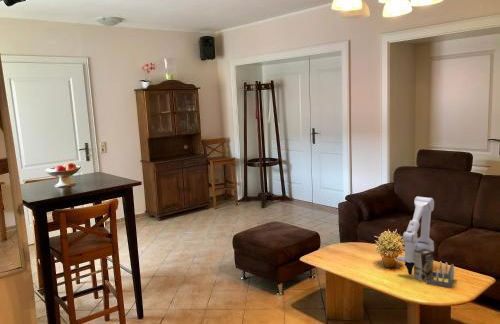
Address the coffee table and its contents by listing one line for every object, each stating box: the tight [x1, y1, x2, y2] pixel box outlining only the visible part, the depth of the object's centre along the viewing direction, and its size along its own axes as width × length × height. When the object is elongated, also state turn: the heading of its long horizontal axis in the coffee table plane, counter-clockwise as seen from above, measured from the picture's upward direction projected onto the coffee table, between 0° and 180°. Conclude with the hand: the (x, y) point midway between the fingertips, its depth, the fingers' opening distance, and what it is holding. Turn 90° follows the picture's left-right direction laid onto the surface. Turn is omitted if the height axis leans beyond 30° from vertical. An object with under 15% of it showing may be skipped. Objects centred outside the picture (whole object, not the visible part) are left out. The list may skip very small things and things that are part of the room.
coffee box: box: [413, 249, 434, 282], centre depth 233 cm, size 9×6×16 cm
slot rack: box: [426, 261, 455, 289], centre depth 228 cm, size 13×12×10 cm
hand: (410, 274), depth 237 cm, fingers closed
